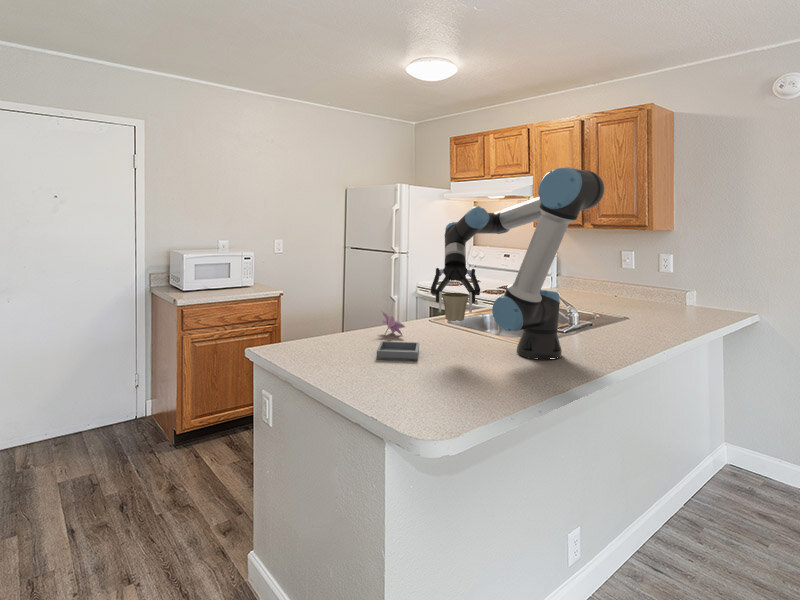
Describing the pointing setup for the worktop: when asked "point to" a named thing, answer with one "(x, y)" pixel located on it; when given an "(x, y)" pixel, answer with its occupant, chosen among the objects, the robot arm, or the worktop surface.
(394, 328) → the lily
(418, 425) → the worktop surface
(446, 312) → the flower pot
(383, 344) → the tray
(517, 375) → the worktop surface
